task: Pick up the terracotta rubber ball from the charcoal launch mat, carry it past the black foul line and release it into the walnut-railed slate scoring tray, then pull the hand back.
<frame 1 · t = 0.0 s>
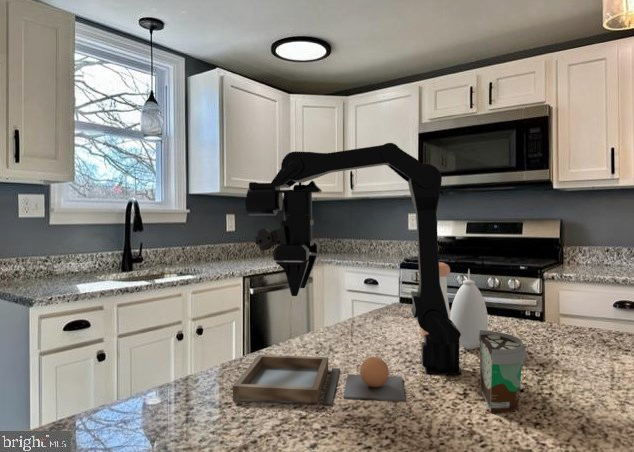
hand: (298, 291, 89), 15 cm above the countertop, fingers open, 9 cm apart
sauce bottle: (468, 349, 98), on the countertop
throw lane: (323, 385, 78), on the countertop
ball: (374, 371, 76), point 3 cm above the countertop, touching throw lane
food container: (505, 402, 71), on the countertop
pepper shaker: (435, 336, 109), on the countertop
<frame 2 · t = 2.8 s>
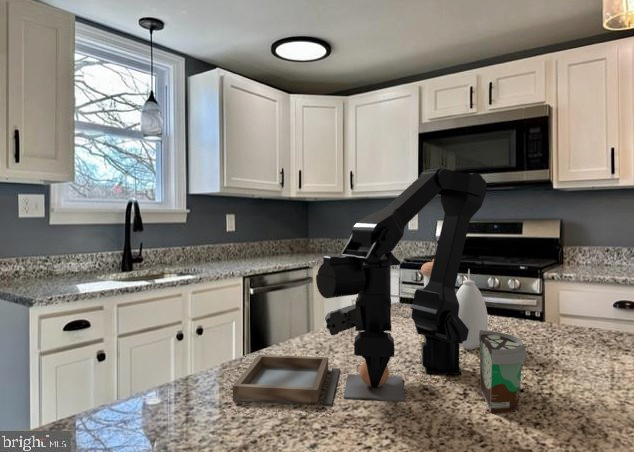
hand: (374, 380, 76), 1 cm above the countertop, fingers closed on ball, 5 cm apart
ball: (374, 371, 76), point 3 cm above the countertop, touching gripper, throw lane
everything else where it was.
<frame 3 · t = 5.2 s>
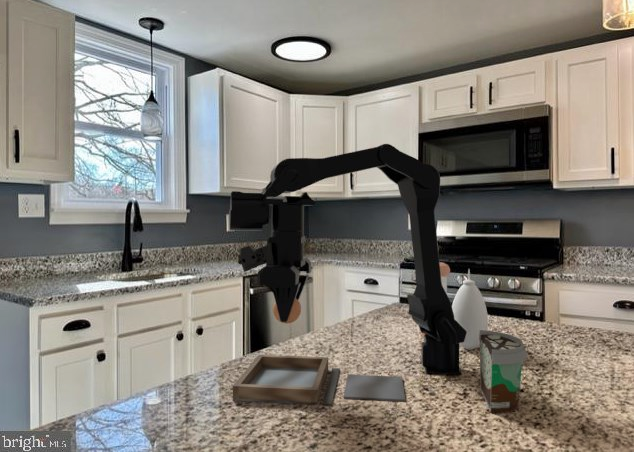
hand: (286, 318, 78), 12 cm above the countertop, fingers closed on ball, 5 cm apart
ball: (287, 309, 78), point 14 cm above the countertop, touching gripper
everything else where it was.
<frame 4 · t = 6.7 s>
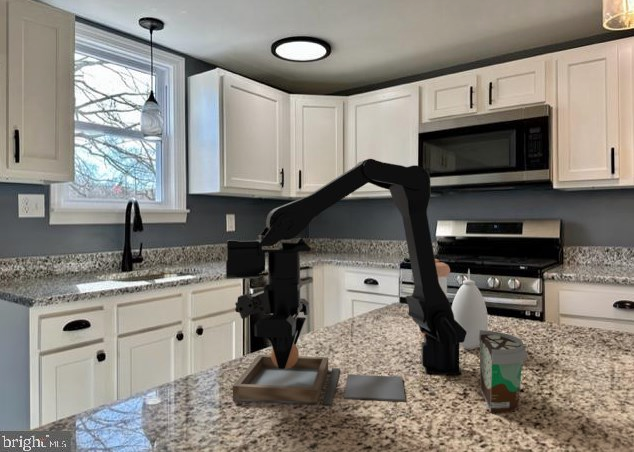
hand: (285, 363, 78), 4 cm above the countertop, fingers closed on ball, 5 cm apart
ball: (284, 354, 78), point 5 cm above the countertop, touching gripper
everything else where it was.
when the fingers open (2 cm above the countertop, at t = 7.8 s): ball drops 1 cm, resting on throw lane.
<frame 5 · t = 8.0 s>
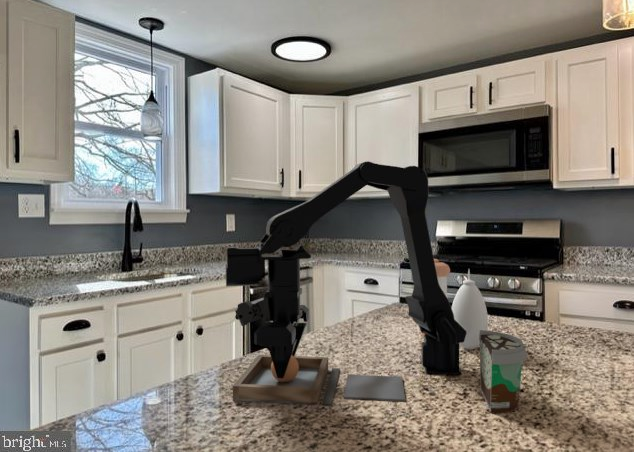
hand: (284, 370, 78), 2 cm above the countertop, fingers open, 7 cm apart
ball: (284, 367, 78), point 3 cm above the countertop, touching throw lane
everything else where it was.
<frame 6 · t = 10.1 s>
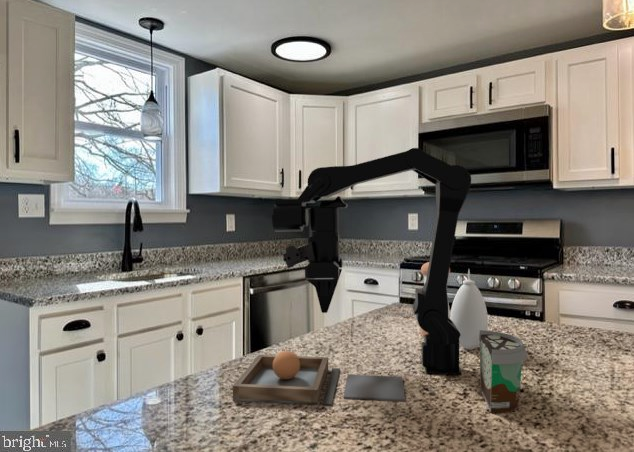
hand: (326, 307, 89), 11 cm above the countertop, fingers open, 9 cm apart
ball: (286, 365, 80), point 3 cm above the countertop, tilted 32°, touching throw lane
everything else where it was.
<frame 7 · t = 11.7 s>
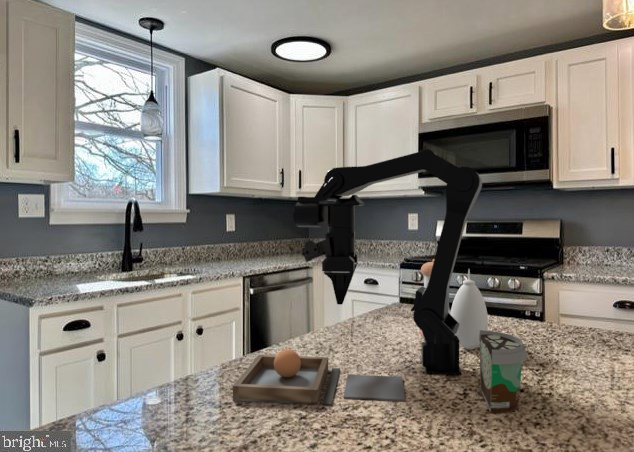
hand: (341, 299, 94), 12 cm above the countertop, fingers open, 9 cm apart
ball: (287, 363, 81), point 3 cm above the countertop, tilted 54°, touching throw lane
everything else where it was.
at the end: ball inside the target area (2.4 cm from its centre), point 2.9 cm above the countertop; the gripper is holding nothing; ball moved 16.2 cm from its start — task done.
